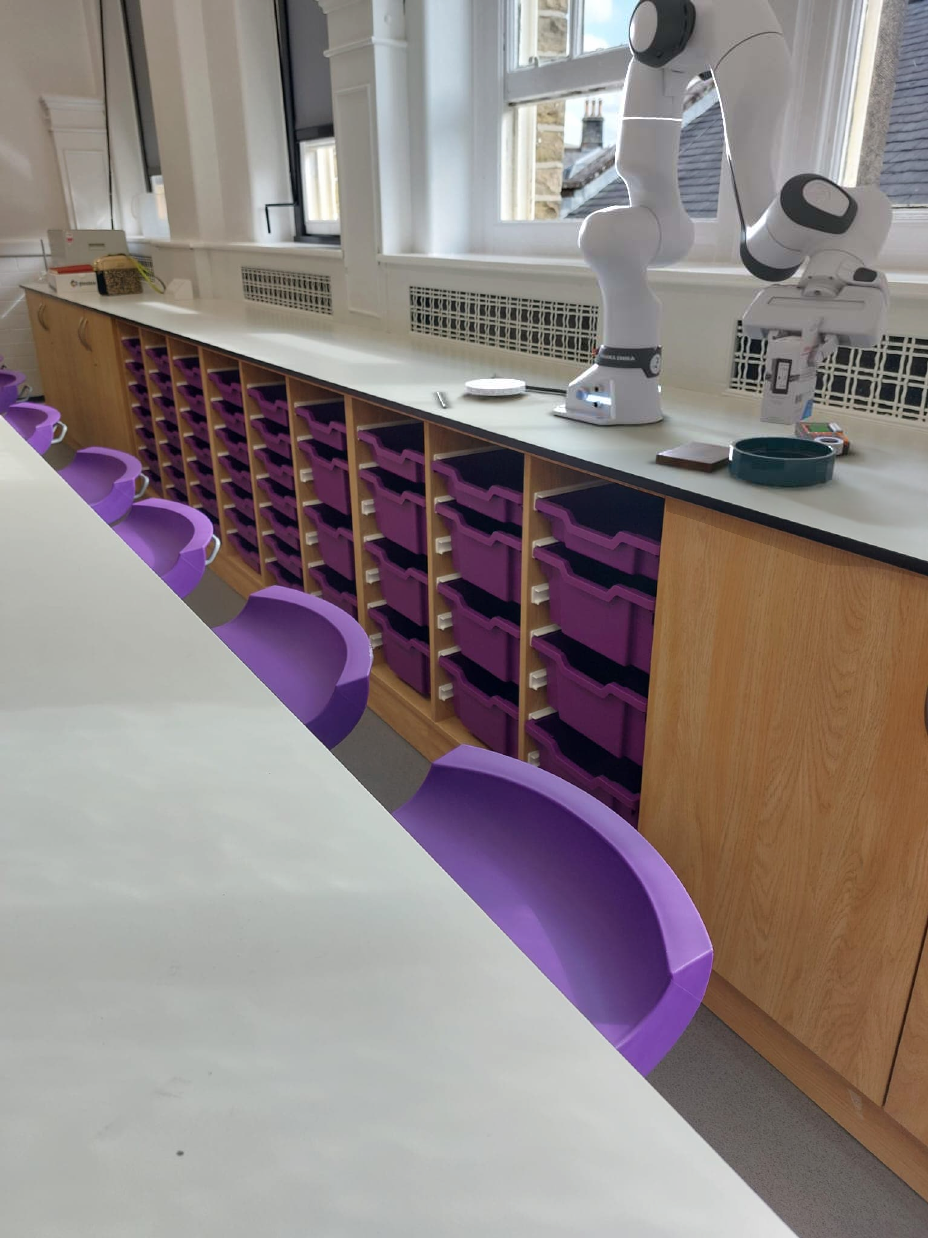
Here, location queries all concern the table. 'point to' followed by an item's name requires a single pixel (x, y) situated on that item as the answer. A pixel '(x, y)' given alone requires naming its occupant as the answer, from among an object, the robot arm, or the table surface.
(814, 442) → the bowl
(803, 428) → the electronic device
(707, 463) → the walnut board
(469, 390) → the plastic lid
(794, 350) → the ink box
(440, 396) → the rod
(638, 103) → the robot arm
